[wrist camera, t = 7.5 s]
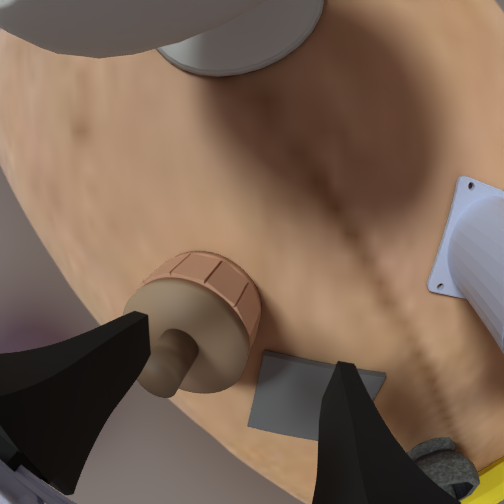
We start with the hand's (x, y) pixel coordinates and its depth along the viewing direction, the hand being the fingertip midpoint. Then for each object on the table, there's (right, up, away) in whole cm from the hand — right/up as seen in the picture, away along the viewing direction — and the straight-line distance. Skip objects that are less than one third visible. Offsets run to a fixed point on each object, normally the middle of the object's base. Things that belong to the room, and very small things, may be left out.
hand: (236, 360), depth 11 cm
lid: (-4, -2, +9) cm, 9 cm away
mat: (+6, -9, +14) cm, 17 cm away
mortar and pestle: (+21, -19, +14) cm, 32 cm away
